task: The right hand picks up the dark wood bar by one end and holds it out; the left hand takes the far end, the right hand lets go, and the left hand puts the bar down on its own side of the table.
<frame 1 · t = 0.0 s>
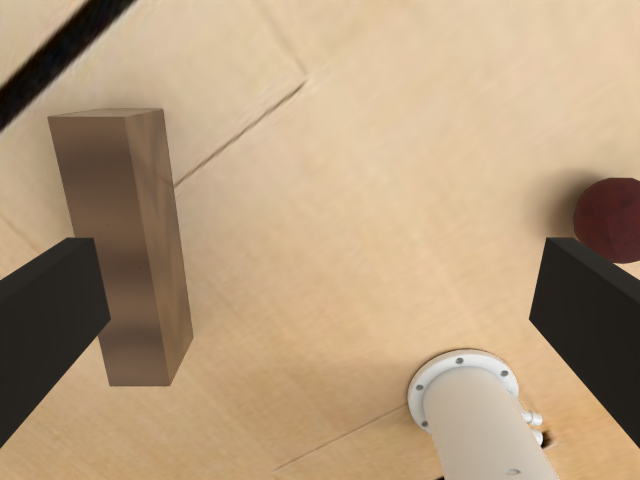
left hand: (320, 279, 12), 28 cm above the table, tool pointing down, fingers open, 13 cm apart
bar: (151, 235, 42), on the table
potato: (594, 207, 41), on the table
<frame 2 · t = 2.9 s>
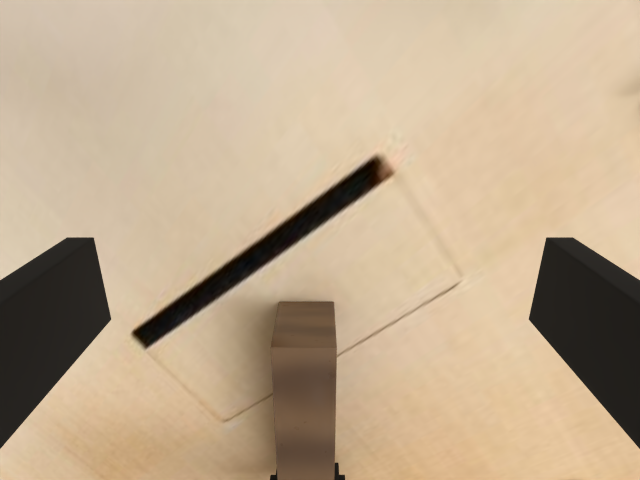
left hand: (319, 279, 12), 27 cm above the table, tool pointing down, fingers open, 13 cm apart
bar: (307, 395, 47), on the table, touching right hand
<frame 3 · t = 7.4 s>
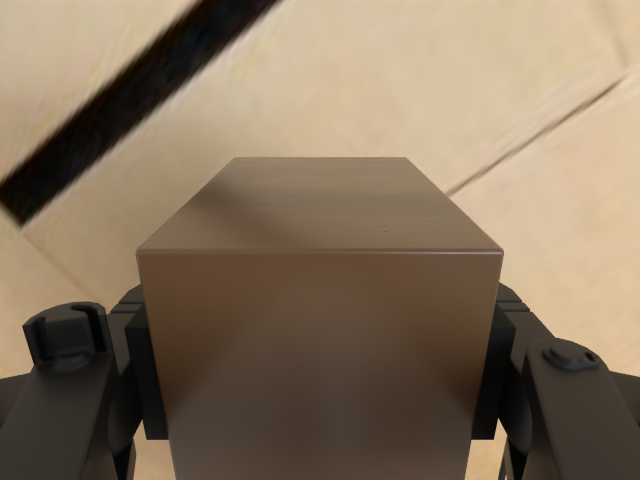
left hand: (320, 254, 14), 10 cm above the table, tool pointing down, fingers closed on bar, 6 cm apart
bar: (320, 438, 18), point 9 cm above the table, touching left hand, right hand
when the right hand's fingers open (12 cm above the table, at t = 8.4 s): bar stays where it is, held by the left hand.
when the left hand's fingers open (2 cm above the table, at t = 12.9 s): bar drops 1 cm, on the table.
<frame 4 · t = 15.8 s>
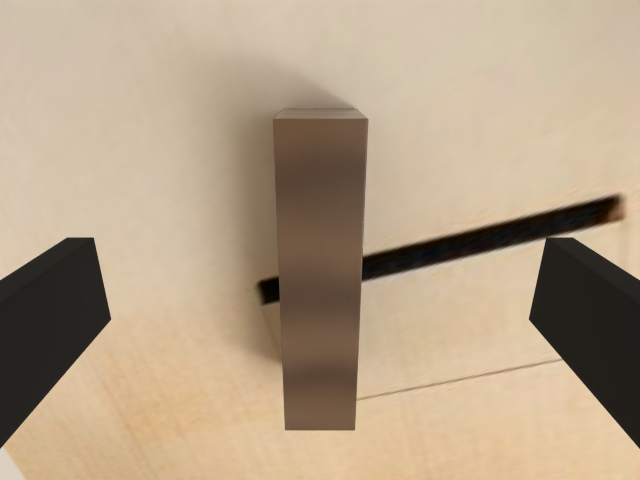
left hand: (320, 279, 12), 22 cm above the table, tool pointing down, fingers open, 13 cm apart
bar: (320, 254, 36), on the table
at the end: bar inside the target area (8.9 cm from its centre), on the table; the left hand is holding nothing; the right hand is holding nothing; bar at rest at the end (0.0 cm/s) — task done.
